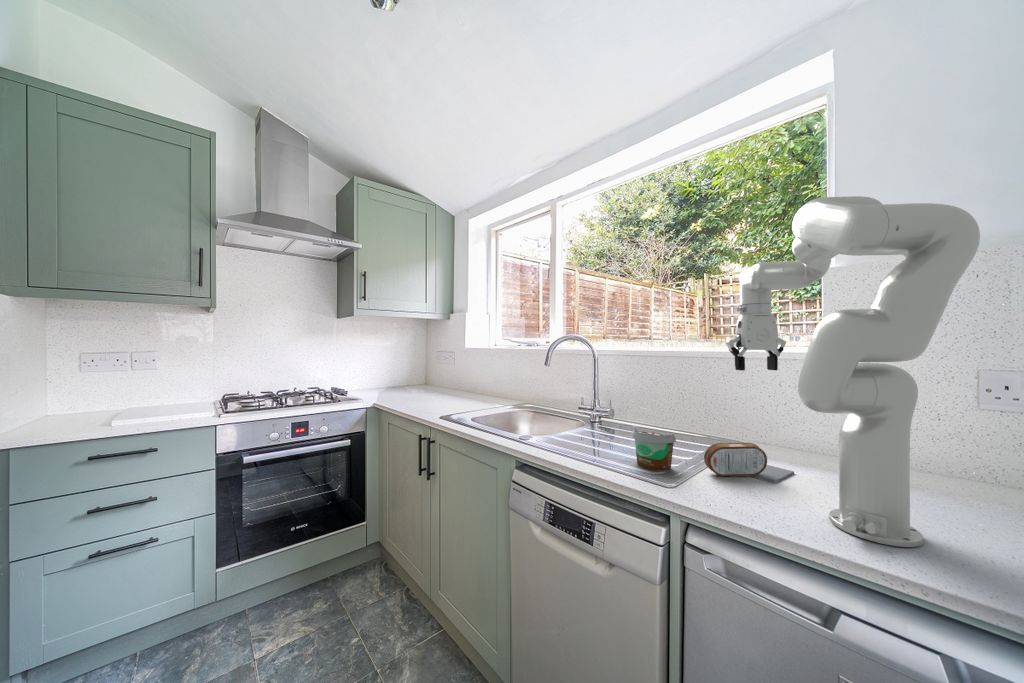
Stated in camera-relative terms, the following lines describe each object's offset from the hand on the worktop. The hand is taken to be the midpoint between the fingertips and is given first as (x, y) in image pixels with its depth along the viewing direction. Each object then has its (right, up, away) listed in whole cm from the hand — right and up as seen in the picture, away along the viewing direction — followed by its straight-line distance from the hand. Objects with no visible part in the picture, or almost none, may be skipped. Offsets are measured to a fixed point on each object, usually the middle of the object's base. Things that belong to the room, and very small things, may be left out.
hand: (756, 370), depth 105 cm
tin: (-11, -28, -8) cm, 31 cm away
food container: (-31, -28, -1) cm, 42 cm away
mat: (-4, -28, -3) cm, 28 cm away
